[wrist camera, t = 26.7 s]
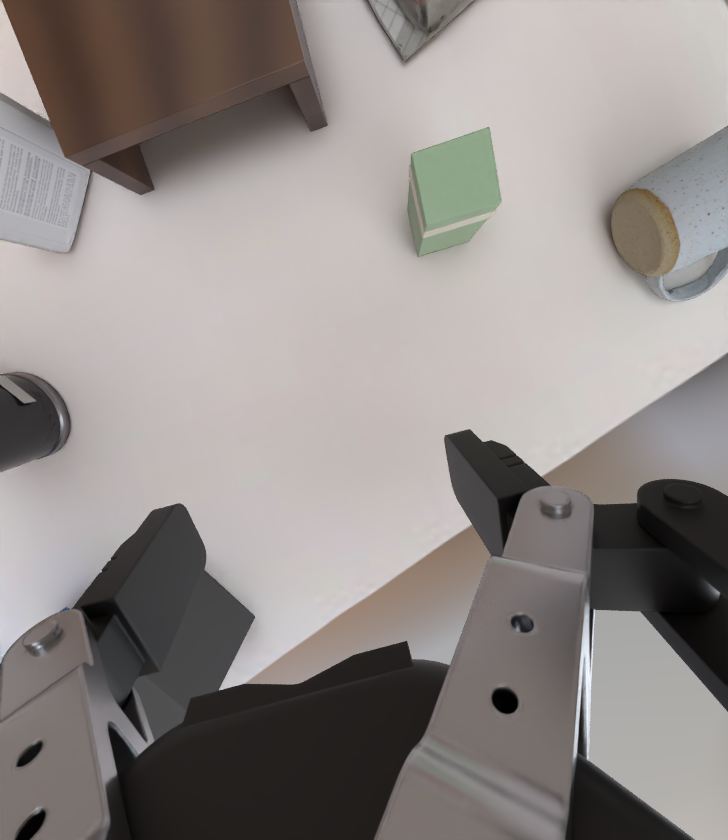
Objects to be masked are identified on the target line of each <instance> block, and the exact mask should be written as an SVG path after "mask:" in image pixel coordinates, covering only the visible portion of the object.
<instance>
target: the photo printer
mask: <svg viewBox="0 0 728 840" xmlns="http://www.w3.org/2000/svg"><path fill="white" fill-rule="evenodd" d="M89 175H90V170H89V169H87V168H85V167H83V166H81V165H79V164H77V163H75V162H73V161H71V160H69V159H67V158H65V157H64V154H63V152H62V149H61V147H60V144H59V142H58V139H57V137H56V134H55V132H54V129H53V127H52V124H51V122H49V121H48V120H46V119H44V118H43V117H41V116H39V115H38V114H36V113H34V112H33V111H31V110H29V109H28V108H26V107H24V106H22V105H21V104H19V103H17V102H16V101H14V100H12V99H11V98H9V97H7V96H6V95H4V94H2V93H0V240H3V241H7V242H11V243H16V244H21V245H25V246H30V247H34V248H39V249H43V250H48V251H52V252H65V253H66V252H68V251H69V250H70V248H71V246H72V243H73V240H74V237H75V233H76V229H77V226H78V221H79V217H80V214H81V210H82V205H83V201H84V197H85V193H86V188H87V185H88V180H89Z"/></svg>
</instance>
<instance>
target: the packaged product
mask: <svg viewBox="0 0 728 840" xmlns="http://www.w3.org/2000/svg"><path fill="white" fill-rule="evenodd" d="M368 1H369V3H370V5H371V7H372V9H373V10H374V12H375V14H376V16H377V18H378V20H379V22H380V23H381V25H382V26H383V28H384V30H385V31H386V33H387V34H388V36H389V38H390V39H391V41H392V42H393V44H394V45H395V47H396V49H397V50H398V52H399V53H400V55H401V57H402V59H403V61H406V60H407V59H408V58H409V57H410V56H411V55H412V54H414V53H415V52H416V51H417V50H418V49H419V48H420V47H422V46H423V45H424V44H425V43H426V42H427V41H428V40H430V39H431V38H432V37H433V36H434V35H435V34H436V33H438V32H439V31H440V30H441V29H442V28H443V27H444V26H446V25H447V24H448V23H449V22H450V21H451V20H452V19H454V18H455V17H456V16H457V15H458V14H459V13H460V12H462V11H463V10H464V9H465V8H466V7H467V6H468V5H469V4H470V3H471V2H473V1H474V0H368Z"/></svg>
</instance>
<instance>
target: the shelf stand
mask: <svg viewBox="0 0 728 840" xmlns="http://www.w3.org/2000/svg"><path fill="white" fill-rule="evenodd" d="M2 2H3V5H4V7H5V10H6V12H7V15H8V17H9V20H10V22H11V25H12V27H13V30H14V32H15V35H16V37H17V40H18V42H19V45H20V47H21V50H22V52H23V55H24V57H25V60H26V62H27V65H28V67H29V70H30V72H31V75H32V77H33V80H34V82H35V85H36V87H37V90H38V92H39V95H40V97H41V100H42V102H43V105H44V107H45V110H46V112H47V115H48V117H49V119H50V122H51V124H52V127H53V129H54V132H55V134H56V137H57V139H58V142H59V144H60V147H61V149H62V152H63V154H64V157H65V158H67V159H69V160H71V161H73V162H75V163H77V164H79V165H81V166H83V167H85V168H87V169H89V170H91V171H93V172H95V173H97V174H99V175H101V176H103V177H105V178H107V179H109V180H111V181H113V182H115V183H117V184H119V185H121V186H123V187H125V188H127V189H130V190H132V191H134V192H136V193H138V194H140V195H141V194H144V193H147V192H150V191H152V190H154V187H153V184H152V181H151V178H150V176H149V173H148V170H147V167H146V164H145V162H144V159H143V156H142V153H141V150H140V148H139V145H138V143H140V142H143V141H145V140H148V139H151V138H153V137H156V136H158V135H161V134H163V133H166V132H168V131H171V130H173V129H176V128H178V127H181V126H183V125H186V124H188V123H191V122H193V121H196V120H199V119H201V118H204V117H206V116H209V115H211V114H214V113H216V112H219V111H221V110H224V109H226V108H229V107H231V106H234V105H236V104H239V103H241V102H244V101H247V100H249V99H252V98H254V97H257V96H259V95H262V94H264V93H267V92H269V91H272V90H274V89H277V88H279V87H282V86H284V85H287V84H289V85H290V87H291V89H292V91H293V94H294V96H295V98H296V100H297V102H298V104H299V107H300V109H301V111H302V113H303V115H304V118H305V120H306V122H307V124H308V126H309V128H310V131H314V130H316V129H319V128H322V127H325V126H327V121H326V117H325V113H324V109H323V105H322V101H321V97H320V93H319V89H318V85H317V81H316V77H315V73H314V70H313V66H312V62H311V58H310V54H309V50H308V46H307V42H306V38H305V34H304V30H303V26H302V22H301V18H300V14H299V11H298V7H297V3H296V0H2Z"/></svg>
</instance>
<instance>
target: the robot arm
mask: <svg viewBox="0 0 728 840" xmlns="http://www.w3.org/2000/svg"><path fill="white" fill-rule="evenodd" d="M68 433H69V417H68V413H67V410H66V408H65V405H64V403H63V401H62V400H61V398H60V397H59V395H58V394H57V393H56V391H55V390H54V389H53V388H52V387H51V386H50V385H48V384H47V383H46V382H44V381H43V380H41V379H40V378H38V377H36V376H33V375H30V374H27V373H20V372H15V373H7V374H0V472H3V471H6V470H8V469H11V468H14V467H17V466H19V465H22V464H25V463H27V462H30V461H33V460H36V459H40V458H43V457H46V456H49V455H51V454H53V453H55V452H57V451H58V450H59V449H60V448H61V447H62V446H63V445H64V443H65V442H66V440H67V437H68ZM444 442H445V448H446V454H447V460H448V466H449V472H450V478H451V483H452V487H453V490H454V493H455V496H456V498H457V500H458V502H459V503H460V505H461V507H462V508H463V510H464V512H465V513H466V515H467V517H468V518H469V520H470V521H471V523H472V525H473V526H474V528H475V529H476V531H477V533H478V534H479V536H480V538H481V539H482V541H483V543H484V544H485V546H486V548H487V549H488V551H489V552H490V554H491V557H490V558H489V560H488V562H487V565H486V568H485V570H484V573H483V576H482V579H481V581H480V584H479V587H478V589H477V592H476V595H475V598H474V600H473V603H472V606H471V609H470V612H469V614H468V617H467V620H466V623H465V625H464V628H463V631H462V634H461V636H460V639H459V642H458V645H457V647H456V650H455V653H454V656H453V659H452V661H451V664H450V665H447V664H443V663H440V662H436V661H429V660H416V659H414V660H413V659H412V658H411V654H410V650H409V647H408V643H407V641H405V642H401V643H397V644H393V645H390V646H386V647H383V648H378V649H375V650H371V651H367V652H363V653H359V654H356V655H353V656H351V657H349V658H348V659H346V660H344V661H342V662H340V663H338V664H336V665H334V666H332V667H331V668H329V669H327V670H325V671H323V672H321V673H319V674H317V675H316V676H314V677H312V678H310V679H308V680H306V681H304V682H302V683H299V684H294V685H281V684H280V685H279V684H278V685H277V684H242V685H238V686H235V687H231V688H227V689H223V690H220V691H216V692H212V693H208V694H204V695H201V696H197V697H193V698H191V699H190V702H189V705H188V708H187V711H186V714H185V717H184V721H183V722H182V723H181V724H179V725H177V726H176V727H174V728H172V729H171V730H169V731H168V732H166V733H165V734H163V735H162V736H161V737H159V738H158V739H157V740H156V741H154V738H153V735H152V732H151V729H150V726H149V723H148V720H147V717H146V714H145V711H144V708H143V705H142V702H141V699H140V696H139V694H138V693H137V691H136V690H135V688H134V687H133V685H134V683H135V681H136V679H137V677H141V676H145V675H149V674H153V673H156V672H160V671H161V670H162V667H163V665H164V663H165V660H166V658H167V655H168V653H169V651H170V648H171V646H172V643H173V641H174V639H175V636H176V634H177V632H178V629H179V627H180V624H181V622H182V620H183V617H184V615H185V612H186V610H187V608H188V605H189V603H190V600H191V598H192V596H193V593H194V591H195V589H196V586H197V584H198V581H199V579H200V577H201V574H202V572H203V569H204V567H205V564H206V550H205V546H204V544H203V542H202V539H201V537H200V535H199V533H198V531H197V529H196V527H195V525H194V523H193V521H192V519H191V517H190V515H189V513H188V511H187V509H186V507H185V506H184V505H182V504H175V505H171V506H167V507H163V508H159V509H155V510H153V511H152V512H151V513H150V514H149V515H148V517H147V518H146V519H145V521H144V522H143V523H142V525H141V526H140V527H139V529H138V530H137V531H136V533H135V534H133V535H132V536H131V537H130V538H129V539H127V540H126V541H125V542H124V543H123V544H122V545H121V546H120V547H119V548H118V550H117V551H116V552H115V554H114V555H113V556H112V558H111V561H108V563H107V564H106V565H105V567H104V568H103V569H102V573H99V574H98V576H97V577H96V578H95V580H94V581H93V582H92V584H91V585H90V586H89V587H88V589H87V590H86V591H85V593H84V594H83V595H82V596H81V598H80V599H79V600H78V602H77V603H76V604H75V606H74V607H73V608H72V609H70V610H65V611H62V612H59V613H56V614H54V615H52V616H50V617H48V618H46V619H44V620H43V621H41V622H39V623H38V624H36V625H35V626H33V627H32V628H31V629H29V630H28V631H27V632H26V633H24V634H23V635H22V636H21V637H20V638H19V639H18V640H17V641H16V642H15V643H14V644H13V645H12V646H11V647H10V648H9V649H8V651H7V652H6V654H5V655H4V657H3V659H2V663H1V664H0V840H695V839H693V838H692V837H691V836H689V835H688V834H687V833H685V832H684V831H683V830H681V829H680V828H678V827H677V826H676V825H675V824H673V823H672V822H670V821H669V820H668V819H666V818H665V817H664V816H662V815H661V814H660V813H658V812H657V811H656V810H654V809H653V808H651V807H650V806H649V805H648V804H646V803H645V802H644V801H642V800H641V799H640V798H638V797H637V796H635V795H634V794H633V793H632V792H630V791H629V790H627V789H626V788H625V787H623V786H622V785H621V784H619V783H618V782H617V781H615V780H614V779H613V778H611V777H610V776H609V775H607V774H606V773H605V772H603V771H602V770H601V769H599V768H598V767H597V766H595V765H594V764H593V763H591V762H590V761H589V737H590V697H591V673H592V655H593V636H594V615H595V610H618V611H640V612H641V613H642V614H643V615H644V616H645V617H646V618H647V620H648V621H649V622H650V623H651V624H652V625H653V626H654V627H655V629H656V630H657V631H658V632H659V633H660V634H661V636H662V637H663V638H664V639H665V640H666V641H667V643H668V644H669V645H670V646H671V647H672V648H673V649H674V650H675V652H676V653H677V654H678V655H679V656H680V657H681V659H682V660H683V661H684V662H685V663H686V664H687V665H688V666H689V668H690V669H691V670H692V671H693V672H694V673H695V675H696V676H697V677H698V678H699V679H700V680H701V681H702V683H703V684H704V685H705V686H706V687H707V688H708V690H709V691H710V692H711V693H712V694H713V695H714V696H715V697H716V699H717V700H718V701H719V702H720V703H721V704H722V706H723V707H724V708H725V709H726V710H727V711H728V496H726V495H725V494H723V493H721V492H719V491H718V490H716V489H714V488H711V487H709V486H706V485H703V484H700V483H696V482H692V481H686V480H678V479H662V480H655V481H651V482H648V483H646V484H644V485H643V486H641V487H640V488H639V490H638V492H637V503H633V504H609V505H608V504H606V505H598V504H593V502H592V501H591V500H590V499H589V497H587V496H586V495H584V494H583V493H582V492H579V491H577V490H575V489H572V488H568V487H562V486H551V485H550V484H548V483H547V482H546V481H545V480H544V479H543V478H542V477H541V476H540V475H538V474H537V473H536V472H535V471H534V470H533V469H532V468H531V467H530V466H528V465H527V464H526V463H524V461H523V460H522V459H521V458H519V457H518V456H516V454H515V453H514V452H513V451H512V450H511V449H509V448H508V447H507V446H506V445H503V444H500V443H498V442H495V441H492V440H490V441H486V442H482V441H481V440H480V439H479V438H478V437H477V436H476V435H475V434H474V433H473V432H472V431H471V430H470V429H468V430H464V431H460V432H456V433H453V434H449V435H445V437H444Z"/></svg>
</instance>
